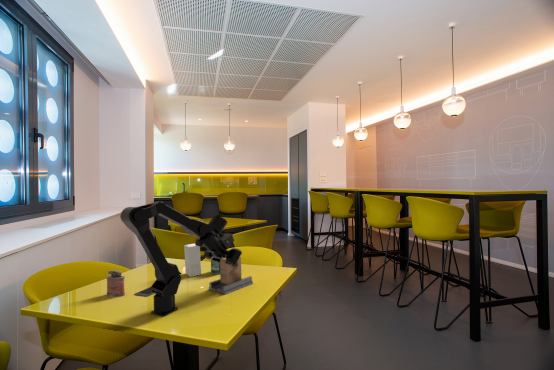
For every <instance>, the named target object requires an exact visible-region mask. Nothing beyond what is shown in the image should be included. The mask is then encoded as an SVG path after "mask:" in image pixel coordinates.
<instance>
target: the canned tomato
mask: <svg viewBox="0 0 554 370" xmlns="http://www.w3.org/2000/svg"><path fill="white" fill-rule="evenodd" d="M212 259H213V258H212V257H211V259H210V274H212V275H220V262H216V261H213V260H212Z"/></svg>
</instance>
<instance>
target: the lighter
mask: <svg viewBox="0 0 554 370" xmlns="http://www.w3.org/2000/svg"><path fill="white" fill-rule="evenodd" d="M122 272H123V271H120V270H119V269H116V270H113V269H112V270H111V269H110V270H108V271H107V273H108V275H107V276H106V296H108V297H115V298H117V297H124V296H125V295H126V292H125V275H122Z"/></svg>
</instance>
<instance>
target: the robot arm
mask: <svg viewBox="0 0 554 370" xmlns="http://www.w3.org/2000/svg"><path fill="white" fill-rule="evenodd" d="M157 215H158V216H160V217H162V218H163V219H166V220H168V221H170V222H172V223H173V224H176V225H177V226H179V227H181V228H182V229H183V231H184V232H185V233H187V234H188V235H189V236H193V237H198V238H195V243H194V244H195V245H196V246H200V247H204V248H206V250H205V252H204V253H203V256H204V258H205V259H206V260H211V257H212V258H213V259H212V260H213V261H216V262H220V259H222V258H226V262H225V263H226V264H229V265H232V266H235V267H237V265H238V264H237V261H238V259H239V257H242V254H243V251H242V250H241V248H235V247H233V248H230V246H229V245H232V243H233V242H235V238H234V236H233V234H232V233H223V231H224V229H225V227H226V226H227V225H228V221H227V219H225V218H224V217H222V216H220V215H219V214H214V215H213V216H212V217H211V219H210V220H209V222H208V223H206V222H205V221H202V220H199V219H195V218H191V217H189V216H187V215H185V214H183V213H181V212H180V211H178V210H177V209H174V208H173V207H171V206H169V205H167V204H166V203H165V202H163V201H153V202H151V203H148V204H144V205H140V206H126V207H125V208H123V209H122V210H121V212H120V215H119V216H120V217H119V218H120V221H121V222H122V223H123V224H124V226H125V227H127V229H129V230H130V231H131V233H133V234H134V235H135V236H136V238H137V240H138V242H139V243H140V245H141V246H142V248H143V251H144V252H145V254H146V256H147V257H148V259H149V261H150V262H151V264H152V266H153V268H154V277H155V281H154V282H153V283H152V285H151V286H149V287H150V289H151V292H152V293H155V294H153V310H151V311H150V313H151V314H153V315H157V316H161V317H165V316H167V315H169V314H171V313H173V312H174V311H177V310H178V309H179V307H177V306H176V295H177V293H178V290H179V287H180V284H181V281H182V273H181V271H180V270H179V267H178V265H177V264H175V263H171V262H169V261H168V260H167V258H166V256H165V255H164V253H163V251H162V249H161V247H160V245H159V243H158V242H157V240H156V238H155V236H154V234H153V232H152V231H151V228H150V225H151V224H150V219H152V218H154V217H156V216H157ZM216 236H217V237H216ZM228 249H229V250H228Z"/></svg>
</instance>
